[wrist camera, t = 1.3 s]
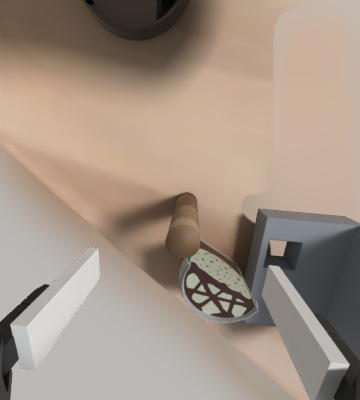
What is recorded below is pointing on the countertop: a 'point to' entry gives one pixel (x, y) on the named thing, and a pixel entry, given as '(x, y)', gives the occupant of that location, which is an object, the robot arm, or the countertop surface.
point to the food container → (215, 286)
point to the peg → (184, 228)
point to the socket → (311, 267)
